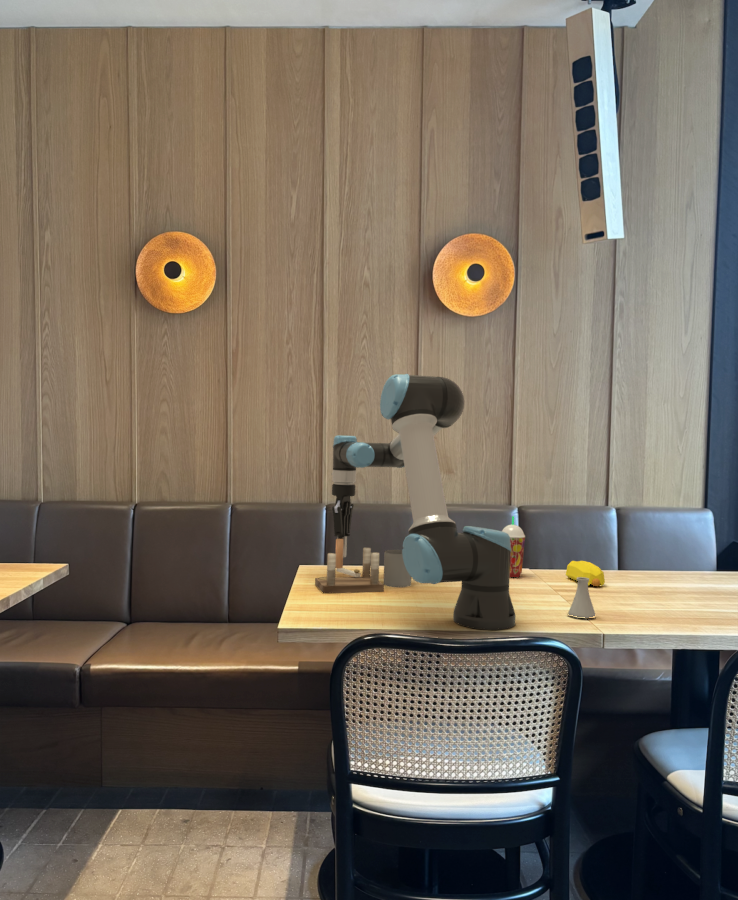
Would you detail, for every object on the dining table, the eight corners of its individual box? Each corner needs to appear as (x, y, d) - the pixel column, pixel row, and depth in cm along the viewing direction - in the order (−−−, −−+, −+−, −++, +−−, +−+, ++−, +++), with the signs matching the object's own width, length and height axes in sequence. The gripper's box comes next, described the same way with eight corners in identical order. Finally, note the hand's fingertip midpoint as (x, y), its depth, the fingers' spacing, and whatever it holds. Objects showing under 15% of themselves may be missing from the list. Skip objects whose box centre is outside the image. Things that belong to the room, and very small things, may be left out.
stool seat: (383, 591, 202) (384, 553, 201) (323, 593, 197) (324, 554, 197) (372, 582, 213) (373, 547, 213) (314, 584, 209) (315, 547, 208)
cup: (411, 582, 216) (412, 550, 216) (410, 588, 208) (411, 554, 207) (384, 581, 217) (385, 549, 216) (382, 586, 208) (383, 553, 208)
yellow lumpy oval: (585, 589, 214) (609, 589, 216) (586, 567, 214) (609, 567, 215) (561, 577, 232) (583, 577, 233) (562, 557, 232) (584, 557, 233)
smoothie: (493, 574, 233) (495, 514, 232) (515, 573, 235) (517, 514, 235) (505, 579, 225) (508, 517, 224) (528, 578, 227) (530, 517, 227)
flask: (573, 611, 184) (575, 574, 184) (600, 616, 180) (601, 578, 180) (562, 616, 179) (563, 578, 179) (589, 622, 174) (591, 582, 174)
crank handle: (354, 577, 209) (355, 544, 209) (333, 570, 219) (334, 538, 218) (361, 576, 210) (362, 543, 210) (339, 569, 220) (340, 538, 220)
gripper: (340, 481, 230) (338, 552, 230) (325, 484, 217) (322, 558, 218) (361, 483, 227) (359, 554, 228) (347, 485, 215) (344, 561, 215)
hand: (341, 556), depth 223 cm, fingers closed
